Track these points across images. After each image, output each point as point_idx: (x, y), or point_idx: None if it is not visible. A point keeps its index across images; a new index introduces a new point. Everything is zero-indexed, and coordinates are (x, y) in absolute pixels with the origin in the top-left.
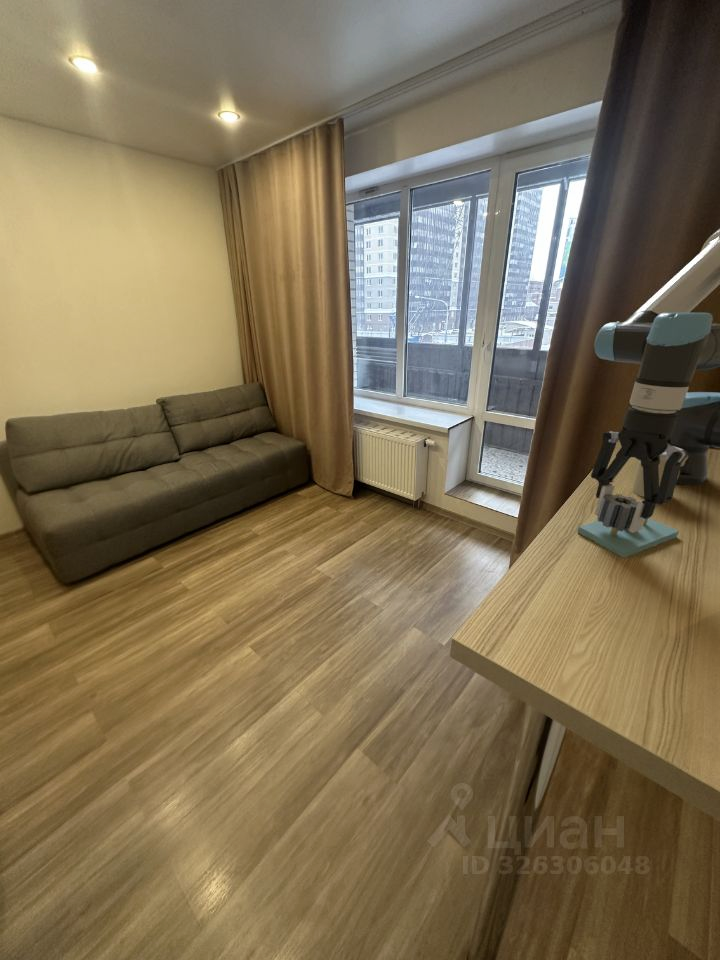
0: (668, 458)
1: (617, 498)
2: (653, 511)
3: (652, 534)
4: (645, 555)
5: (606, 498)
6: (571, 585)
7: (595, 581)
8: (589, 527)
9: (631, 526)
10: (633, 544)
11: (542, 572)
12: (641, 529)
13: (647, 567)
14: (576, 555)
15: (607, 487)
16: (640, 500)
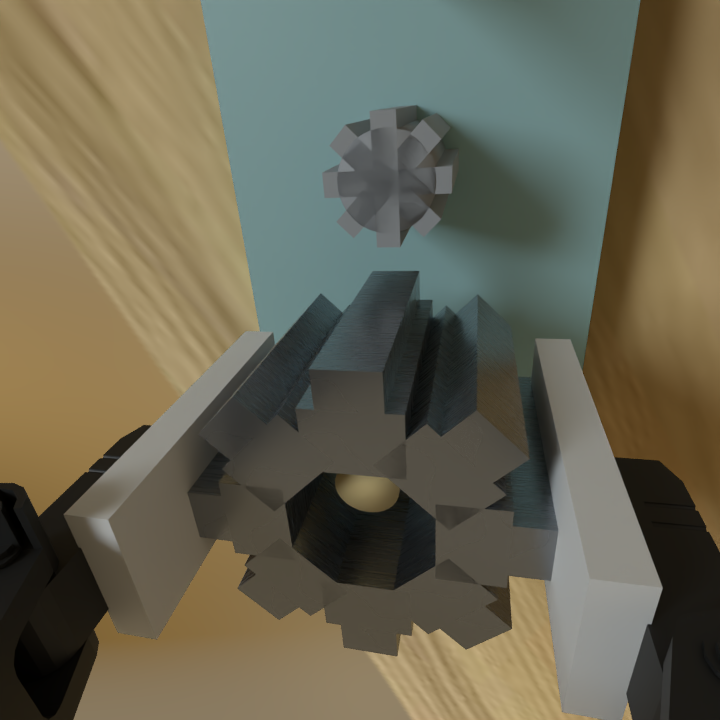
0: None
1: (288, 502)
2: (704, 529)
3: (558, 48)
4: (624, 282)
5: (268, 596)
6: (550, 685)
7: None
8: None
9: None
10: (552, 333)
11: (452, 687)
12: (570, 339)
13: (689, 388)
14: None
15: (152, 618)
16: (566, 693)
